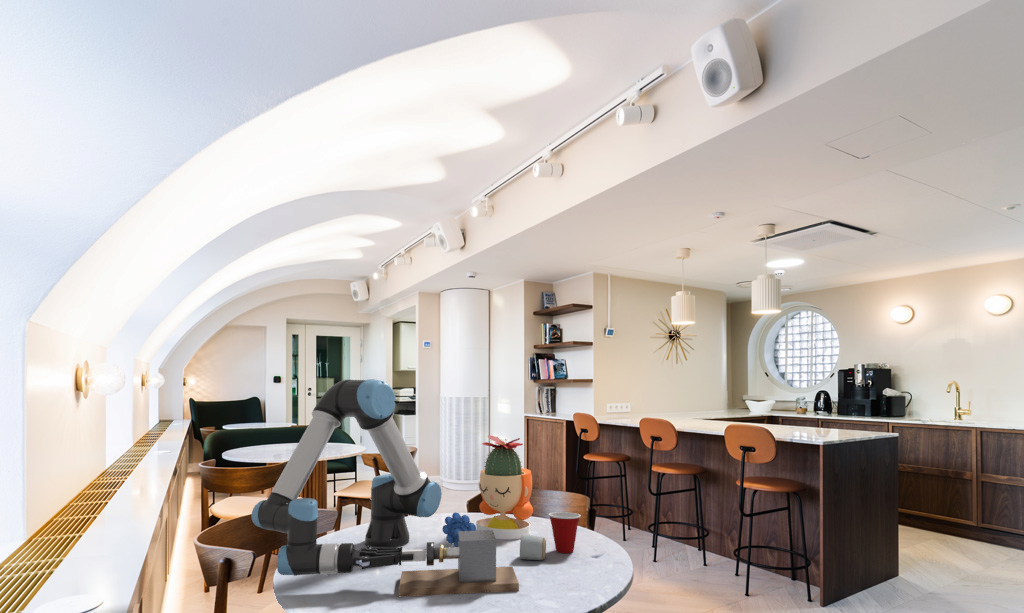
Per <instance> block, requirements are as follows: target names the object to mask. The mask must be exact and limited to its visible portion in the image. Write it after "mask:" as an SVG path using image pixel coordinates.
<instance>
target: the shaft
mask: <svg viewBox="0 0 1024 613" xmlns="http://www.w3.org/2000/svg"><path fill="white" fill-rule="evenodd" d="M456 559H457V560H458V559H459V547H455V546H452V547H451V546H449V547H446V546H445V547H444V544H438V547H435V542H434V541H429V542H426V567H427V566H428V567H429V566H431V567H432V566H434V565H435V560H438V563H444V560H456Z"/></svg>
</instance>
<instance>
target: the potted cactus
mask: <svg viewBox="0 0 1024 613" xmlns="http://www.w3.org/2000/svg"><path fill="white" fill-rule="evenodd" d="M487 438H488V439H489V440H490V441H493V442H494V443H490V442H487V441H486V442H482V443H481V445H483V446H488V447H492V448H491V450H489V451H488V453H487V457H485V461H484V464H485V465H483V468H484V469H483V470H480V474H479V475H480V476H479V481H478V489H479V491H480V495H481V497H482V501H481V502H480V503H479V506H478V507H479V511H480V512H481V513H482V514H484V515H486V516H492V515H495V516H493V517H484V518H479V519H478V520H476V523H475V526H476V531H483V530H493V532H494V535H495V538H496V540H519V539H520V540H521V536H522V534H525V535H531V523H530V522H528V521H527V520H528V519H530V518H531V517H532V515H533V513H534V508H533V505H532V504H531V502H530V498H531V495H532V491H533V475H532V471H531V469H528V468H524V465H522V463H523V461H522V460H521V456H520V454H518V450H516V449H517V447H520V446H523V445H524V443H520V442H517V441H519V440H520V439H521V438H519V437H518V438H515V439H513V440H511V441H508V439H506V438H505V439H504V440H502V439H500V438H499V437H498V436H495V435H487ZM519 456H520V457H519ZM497 513H499V514H500V515H499V514H498V515H496V514H497ZM509 514H513V517H511V516H508V515H509Z"/></svg>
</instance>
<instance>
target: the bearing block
mask: <svg viewBox="0 0 1024 613" xmlns="http://www.w3.org/2000/svg"><path fill="white" fill-rule="evenodd" d="M458 547H459V559H457V569H458V576H459V583H477V582H496V567H497V539H496V538H495V535H494V532H493V530H483V531H458Z"/></svg>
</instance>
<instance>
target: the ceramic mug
mask: <svg viewBox="0 0 1024 613" xmlns="http://www.w3.org/2000/svg"><path fill="white" fill-rule="evenodd" d="M546 549H547V539H546V538H545V537H543V536H539V535H531V534H530V535H525V534H522V536H521V539H520V543H519V559H520V560H528V561H543V560H544V559H545V557H546V552H547V550H546Z"/></svg>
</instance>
